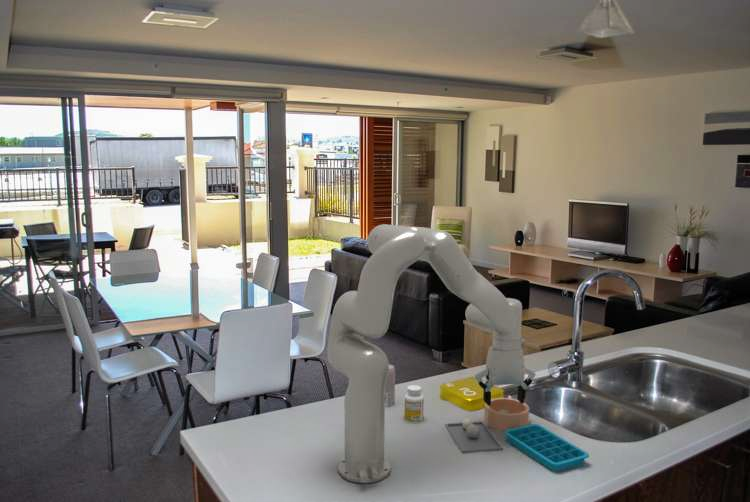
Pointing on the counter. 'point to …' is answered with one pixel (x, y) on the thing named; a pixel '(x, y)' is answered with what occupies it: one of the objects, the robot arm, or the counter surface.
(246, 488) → the counter surface
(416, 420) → the supplement bottle
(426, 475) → the counter surface
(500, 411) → the pebble
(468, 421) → the pebble
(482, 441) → the parts tray
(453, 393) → the element tile
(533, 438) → the ice cube tray
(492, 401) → the bowl
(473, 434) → the pebble
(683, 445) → the counter surface
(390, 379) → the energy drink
